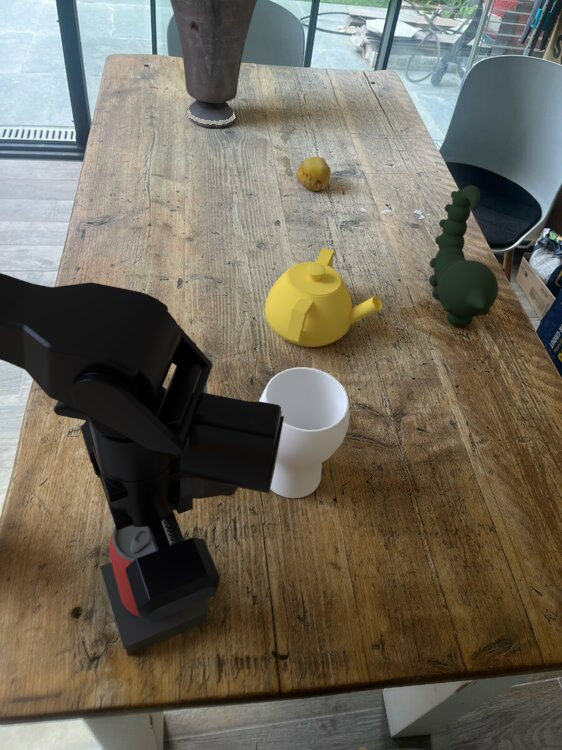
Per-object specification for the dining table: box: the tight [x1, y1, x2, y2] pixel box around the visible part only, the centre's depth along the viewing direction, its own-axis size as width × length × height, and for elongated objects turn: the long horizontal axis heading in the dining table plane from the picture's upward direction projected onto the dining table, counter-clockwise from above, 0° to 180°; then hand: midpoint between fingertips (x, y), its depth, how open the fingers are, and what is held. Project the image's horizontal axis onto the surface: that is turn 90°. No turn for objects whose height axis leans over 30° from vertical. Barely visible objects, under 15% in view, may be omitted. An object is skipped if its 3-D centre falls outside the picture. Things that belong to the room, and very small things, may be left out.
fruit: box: [296, 156, 332, 192], centre depth 124 cm, size 7×7×10 cm
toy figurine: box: [428, 185, 499, 328], centre depth 97 cm, size 9×19×25 cm
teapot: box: [264, 247, 383, 348], centre depth 92 cm, size 20×18×11 cm
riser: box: [99, 561, 211, 657], centre depth 62 cm, size 9×9×3 cm
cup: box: [258, 366, 351, 499], centre depth 70 cm, size 11×11×15 cm
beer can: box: [108, 520, 172, 616], centre depth 56 cm, size 7×7×12 cm
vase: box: [169, 0, 258, 129], centre depth 134 cm, size 22×22×30 cm
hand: (151, 547), depth 54 cm, fingers open, 9 cm apart
